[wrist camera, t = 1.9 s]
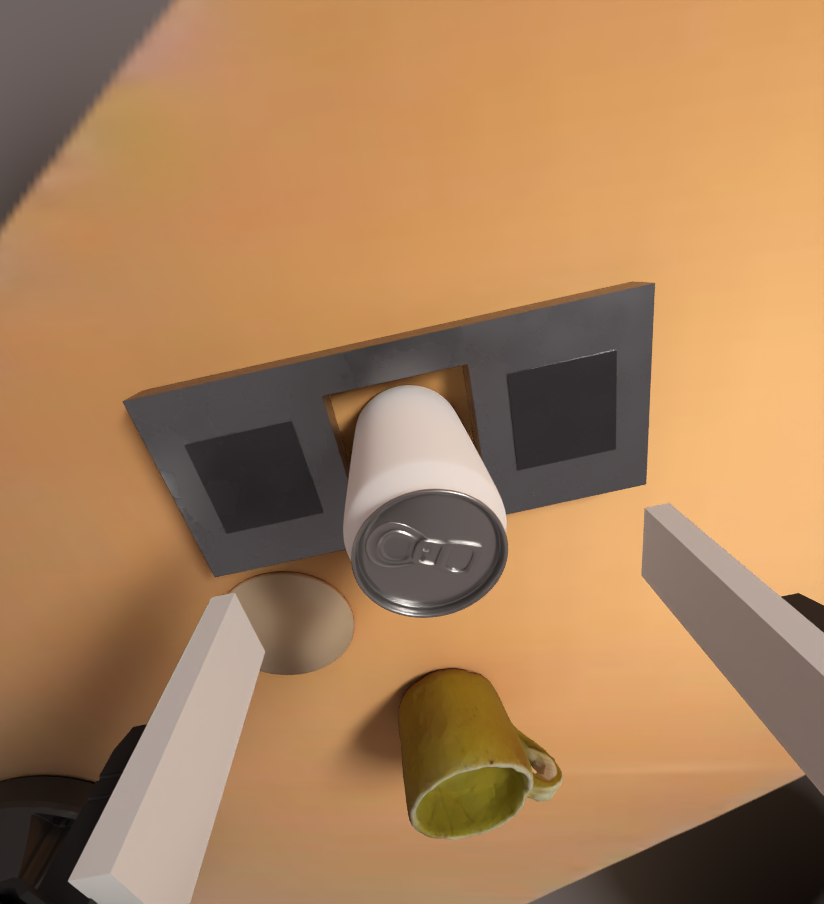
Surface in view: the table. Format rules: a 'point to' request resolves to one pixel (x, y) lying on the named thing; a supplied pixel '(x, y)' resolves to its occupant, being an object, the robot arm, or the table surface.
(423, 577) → the can
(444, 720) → the mug
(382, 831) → the table surface
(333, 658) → the coaster
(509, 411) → the panel
